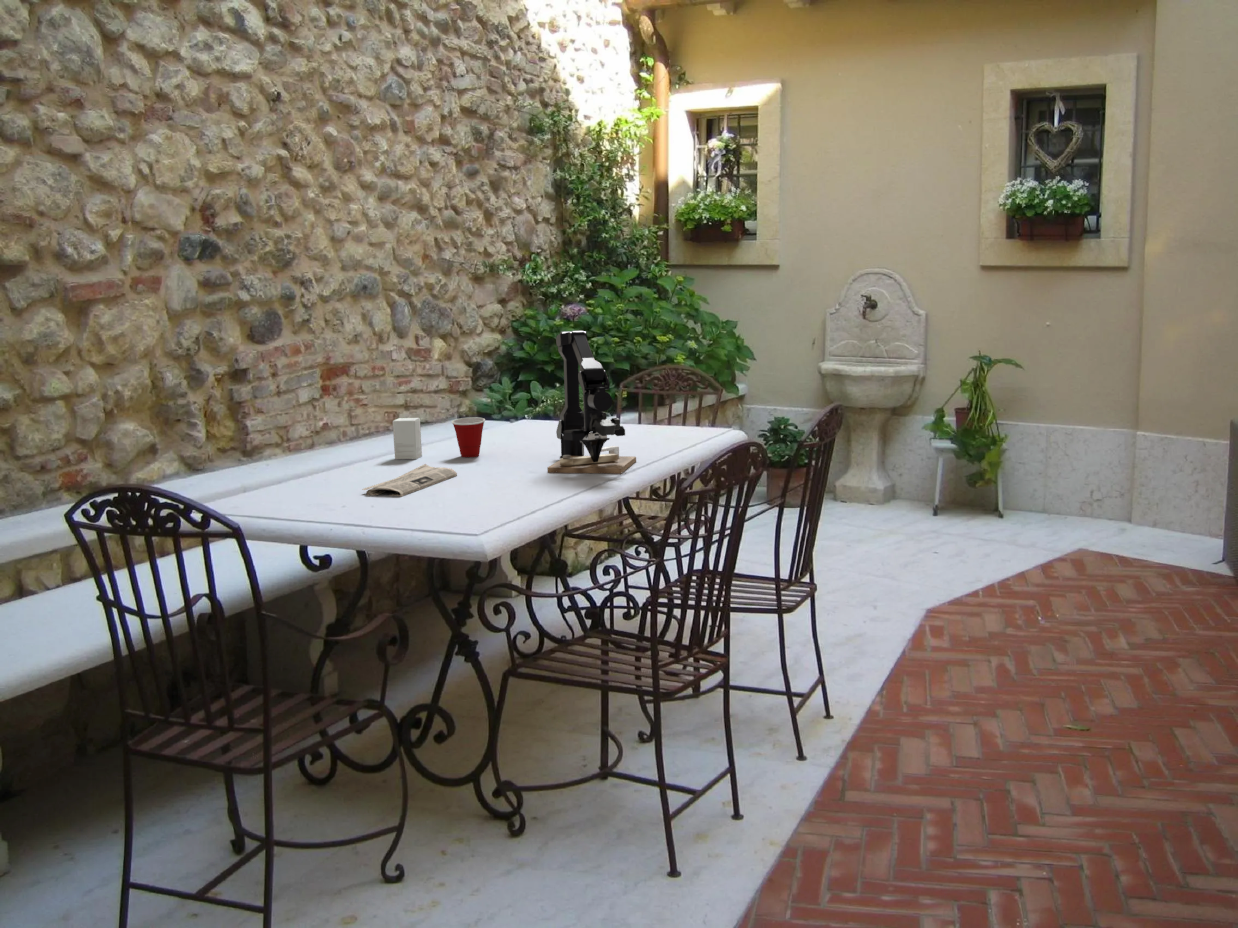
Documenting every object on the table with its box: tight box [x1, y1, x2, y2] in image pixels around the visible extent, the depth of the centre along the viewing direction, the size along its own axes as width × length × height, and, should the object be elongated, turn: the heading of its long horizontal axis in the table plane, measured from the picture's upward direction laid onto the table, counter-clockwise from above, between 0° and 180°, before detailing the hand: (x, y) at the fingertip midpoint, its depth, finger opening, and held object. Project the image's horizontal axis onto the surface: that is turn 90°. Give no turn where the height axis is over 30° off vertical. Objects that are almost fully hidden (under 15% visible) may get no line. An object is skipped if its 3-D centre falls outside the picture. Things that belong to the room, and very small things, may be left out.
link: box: [559, 453, 618, 466], centre depth 350 cm, size 18×4×3 cm, turn 117°
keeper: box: [601, 445, 620, 458], centre depth 359 cm, size 8×2×3 cm, turn 136°
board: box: [547, 455, 637, 474], centre depth 354 cm, size 22×23×2 cm
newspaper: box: [361, 463, 458, 498], centre depth 329 cm, size 35×12×4 cm, turn 162°
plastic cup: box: [451, 416, 486, 458], centre depth 379 cm, size 11×11×12 cm
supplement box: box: [392, 417, 423, 460], centre depth 378 cm, size 7×7×13 cm
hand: (595, 462), depth 348 cm, fingers closed
